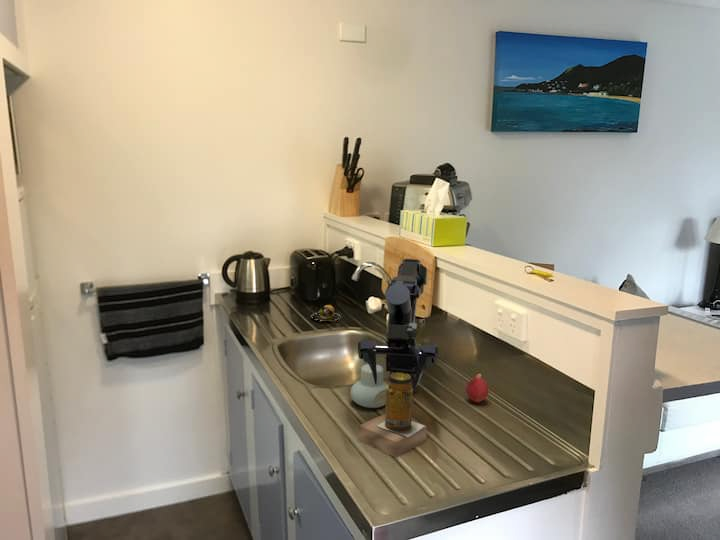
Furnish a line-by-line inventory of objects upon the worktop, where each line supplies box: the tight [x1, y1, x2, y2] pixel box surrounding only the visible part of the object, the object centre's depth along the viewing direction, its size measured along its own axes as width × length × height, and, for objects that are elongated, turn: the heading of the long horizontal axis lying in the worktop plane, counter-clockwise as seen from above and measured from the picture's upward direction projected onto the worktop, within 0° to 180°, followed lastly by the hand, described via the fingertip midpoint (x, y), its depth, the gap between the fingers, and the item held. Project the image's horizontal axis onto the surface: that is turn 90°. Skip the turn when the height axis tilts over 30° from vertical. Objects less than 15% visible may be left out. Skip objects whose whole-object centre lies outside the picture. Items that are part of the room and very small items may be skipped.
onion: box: [465, 373, 490, 404], centre depth 156 cm, size 6×6×8 cm
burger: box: [310, 302, 342, 323], centre depth 227 cm, size 12×12×8 cm
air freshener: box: [350, 363, 389, 409], centre depth 153 cm, size 11×8×10 cm
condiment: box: [377, 373, 425, 437], centre depth 132 cm, size 7×8×12 cm
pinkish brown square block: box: [358, 413, 428, 459], centre depth 135 cm, size 11×11×4 cm
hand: (395, 385), depth 135 cm, fingers open, 9 cm apart
